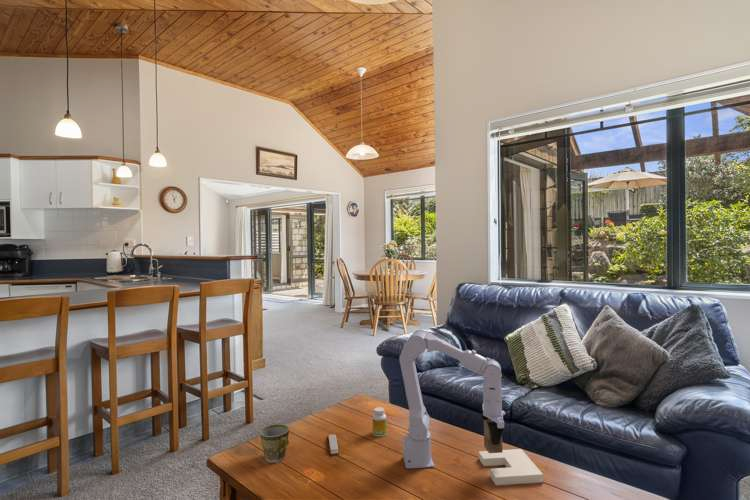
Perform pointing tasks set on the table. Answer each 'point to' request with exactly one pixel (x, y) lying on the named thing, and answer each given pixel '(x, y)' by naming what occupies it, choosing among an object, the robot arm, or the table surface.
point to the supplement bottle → (379, 422)
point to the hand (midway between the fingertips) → (493, 440)
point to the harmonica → (333, 445)
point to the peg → (488, 441)
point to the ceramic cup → (274, 442)
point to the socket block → (511, 467)
